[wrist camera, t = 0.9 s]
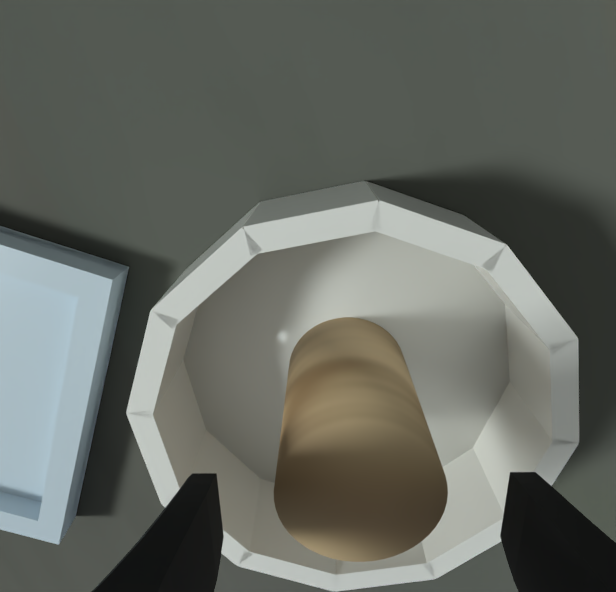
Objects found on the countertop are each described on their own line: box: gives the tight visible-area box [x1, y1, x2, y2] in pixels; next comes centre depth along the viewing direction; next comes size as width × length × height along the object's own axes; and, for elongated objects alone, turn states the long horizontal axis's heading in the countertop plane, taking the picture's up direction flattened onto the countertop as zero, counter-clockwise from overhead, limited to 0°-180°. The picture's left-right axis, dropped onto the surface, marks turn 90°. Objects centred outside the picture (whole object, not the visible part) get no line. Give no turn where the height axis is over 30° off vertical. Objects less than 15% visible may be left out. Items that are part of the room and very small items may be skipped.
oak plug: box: [274, 317, 448, 562], centre depth 15 cm, size 4×4×6 cm
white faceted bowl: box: [126, 181, 579, 592], centre depth 17 cm, size 14×14×4 cm
